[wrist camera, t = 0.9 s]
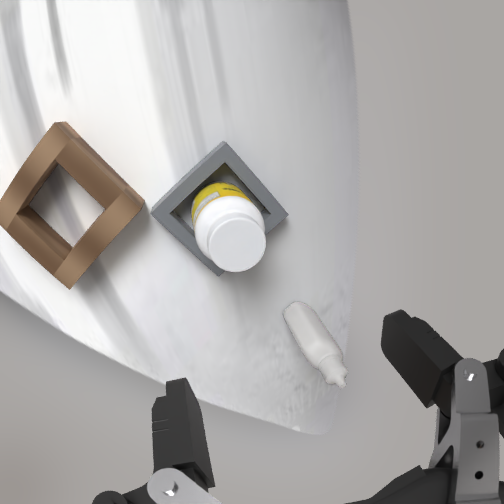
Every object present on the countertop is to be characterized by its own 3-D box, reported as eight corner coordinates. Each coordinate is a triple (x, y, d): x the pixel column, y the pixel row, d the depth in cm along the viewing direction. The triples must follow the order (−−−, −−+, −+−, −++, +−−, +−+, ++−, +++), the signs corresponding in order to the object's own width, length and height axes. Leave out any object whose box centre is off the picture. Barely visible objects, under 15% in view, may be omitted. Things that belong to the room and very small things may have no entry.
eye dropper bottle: (287, 338, 39) (324, 409, 28) (280, 304, 36) (320, 377, 26) (319, 327, 39) (362, 392, 29) (314, 292, 37) (363, 358, 26)
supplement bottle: (257, 208, 31) (291, 247, 22) (216, 244, 31) (233, 296, 23) (221, 167, 28) (242, 191, 20) (178, 206, 29) (180, 247, 20)
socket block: (66, 121, 23) (54, 122, 20) (144, 200, 28) (141, 209, 25) (5, 206, 24) (-9, 215, 21) (77, 275, 29) (69, 289, 26)
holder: (223, 140, 27) (226, 142, 26) (282, 208, 31) (288, 214, 30) (152, 207, 28) (150, 213, 27) (215, 267, 32) (218, 276, 31)
